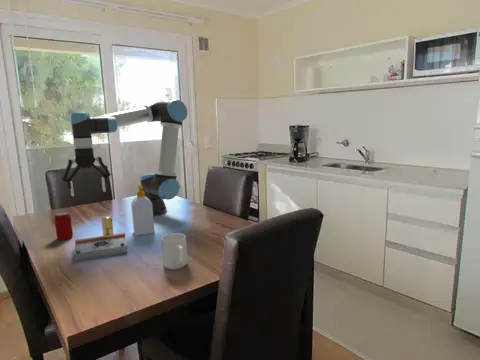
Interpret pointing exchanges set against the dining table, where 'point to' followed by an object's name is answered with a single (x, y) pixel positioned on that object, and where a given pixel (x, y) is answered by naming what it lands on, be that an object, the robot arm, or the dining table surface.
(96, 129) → the robot arm
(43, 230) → the dining table surface
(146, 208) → the soap bottle
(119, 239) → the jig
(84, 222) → the dining table surface
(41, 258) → the dining table surface
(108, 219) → the brass cylinder
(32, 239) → the dining table surface
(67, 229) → the beverage can
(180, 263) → the mug
